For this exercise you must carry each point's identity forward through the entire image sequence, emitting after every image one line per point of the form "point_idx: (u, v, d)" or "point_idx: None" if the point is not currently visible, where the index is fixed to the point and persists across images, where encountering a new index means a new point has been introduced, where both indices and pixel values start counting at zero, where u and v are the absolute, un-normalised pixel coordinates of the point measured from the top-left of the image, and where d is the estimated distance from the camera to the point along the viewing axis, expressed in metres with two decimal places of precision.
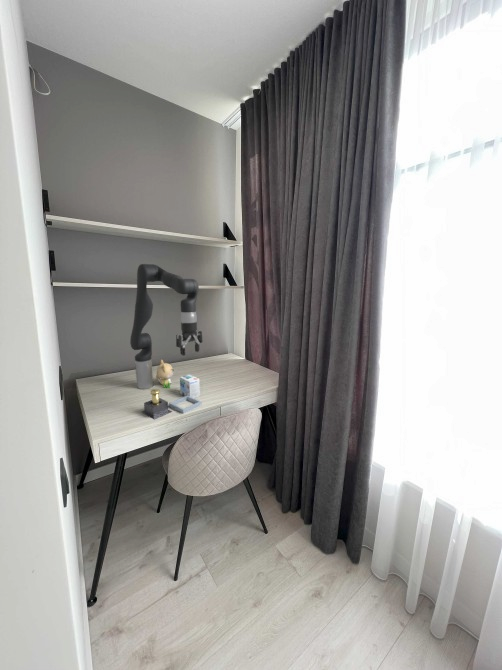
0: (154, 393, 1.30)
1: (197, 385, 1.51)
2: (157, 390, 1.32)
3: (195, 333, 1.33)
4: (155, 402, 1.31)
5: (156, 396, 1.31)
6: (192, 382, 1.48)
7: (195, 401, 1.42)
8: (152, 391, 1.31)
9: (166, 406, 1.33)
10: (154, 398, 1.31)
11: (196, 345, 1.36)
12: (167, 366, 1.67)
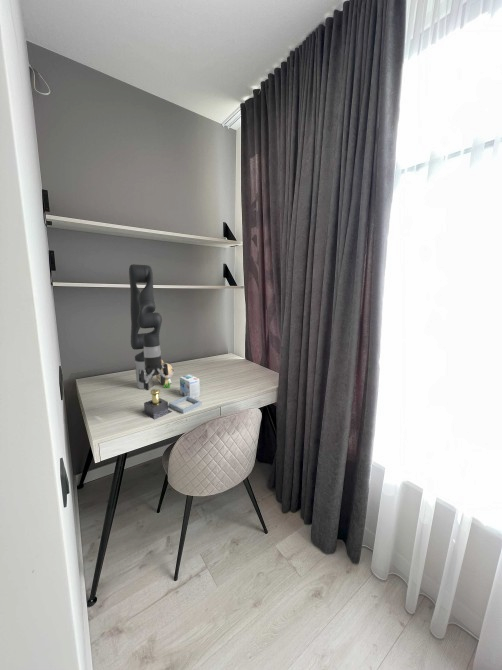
0: (154, 393, 1.30)
1: (197, 385, 1.51)
2: (157, 390, 1.32)
3: (160, 366, 1.31)
4: (155, 402, 1.31)
5: (156, 396, 1.31)
6: (192, 382, 1.48)
7: (195, 401, 1.42)
8: (152, 391, 1.31)
9: (166, 406, 1.33)
10: (154, 398, 1.31)
11: (161, 378, 1.33)
12: None
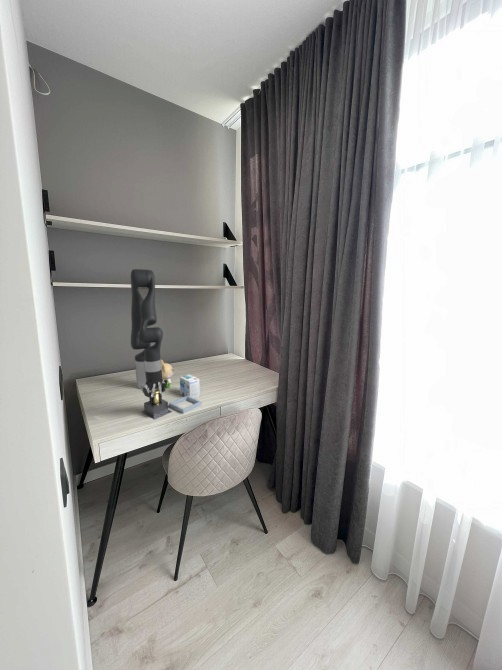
0: (154, 393, 1.30)
1: (197, 385, 1.51)
2: (157, 390, 1.32)
3: (161, 380, 1.32)
4: (155, 402, 1.31)
5: (156, 396, 1.31)
6: (192, 382, 1.48)
7: (195, 401, 1.42)
8: None
9: (166, 406, 1.33)
10: (154, 398, 1.31)
11: None
12: (167, 366, 1.67)
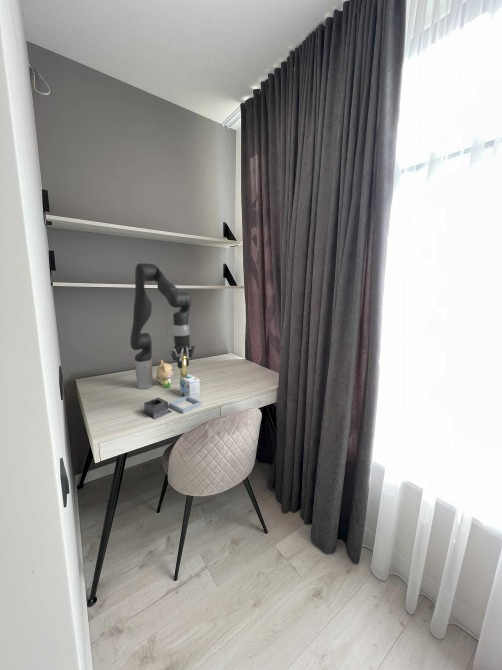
0: (182, 357, 1.32)
1: (197, 385, 1.51)
2: (185, 355, 1.35)
3: (188, 345, 1.35)
4: (183, 367, 1.34)
5: (184, 361, 1.34)
6: (192, 382, 1.48)
7: (195, 401, 1.42)
8: None
9: (166, 406, 1.33)
10: (182, 363, 1.33)
11: None
12: (167, 366, 1.67)
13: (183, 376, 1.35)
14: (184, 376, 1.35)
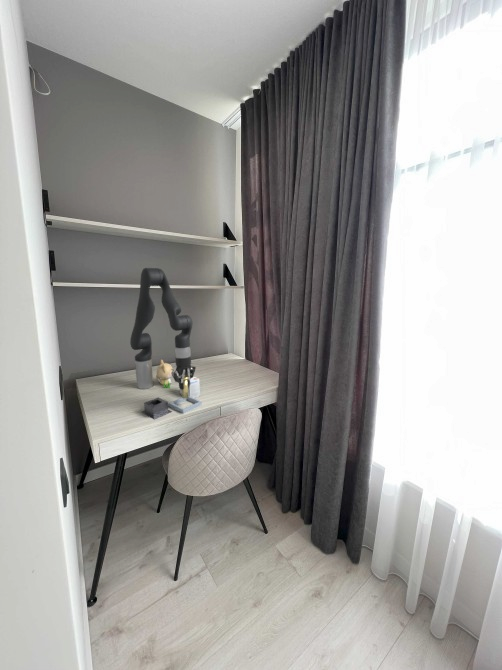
0: (184, 379, 1.35)
1: (197, 385, 1.51)
2: (186, 376, 1.37)
3: (189, 366, 1.37)
4: (184, 388, 1.36)
5: (185, 382, 1.36)
6: (192, 382, 1.48)
7: (195, 401, 1.42)
8: None
9: (166, 406, 1.33)
10: (183, 384, 1.36)
11: None
12: (167, 366, 1.67)
13: (184, 397, 1.37)
14: (185, 397, 1.37)
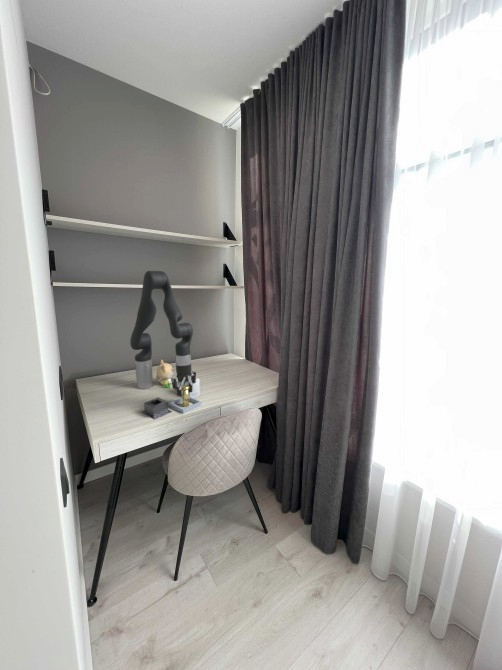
0: (184, 388, 1.36)
1: (197, 385, 1.51)
2: (187, 386, 1.39)
3: (190, 373, 1.38)
4: (185, 397, 1.38)
5: (186, 391, 1.37)
6: None
7: (195, 401, 1.42)
8: (182, 386, 1.37)
9: (166, 406, 1.33)
10: (184, 393, 1.37)
11: (189, 386, 1.40)
12: (167, 366, 1.67)
13: (185, 406, 1.39)
14: (186, 406, 1.39)
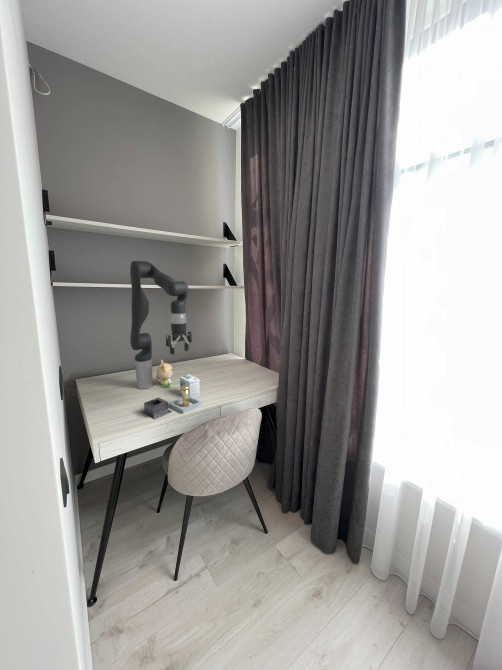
0: (184, 388, 1.36)
1: (197, 385, 1.51)
2: (187, 386, 1.39)
3: (184, 333, 1.39)
4: (185, 397, 1.38)
5: (186, 391, 1.37)
6: (192, 382, 1.48)
7: (195, 401, 1.42)
8: (182, 386, 1.37)
9: (166, 406, 1.33)
10: (184, 393, 1.37)
11: (185, 345, 1.42)
12: (167, 366, 1.67)
13: (185, 406, 1.39)
14: (186, 406, 1.39)
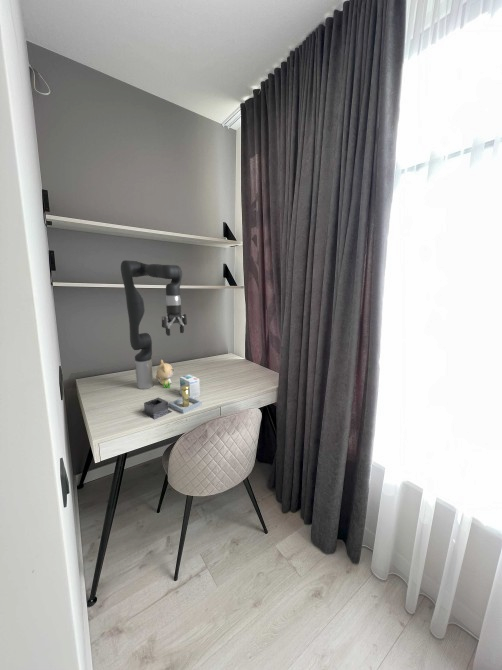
0: (184, 388, 1.36)
1: (197, 385, 1.51)
2: (187, 386, 1.39)
3: (180, 315, 1.45)
4: (185, 397, 1.38)
5: (186, 391, 1.37)
6: (192, 382, 1.48)
7: (195, 401, 1.42)
8: (182, 386, 1.37)
9: (166, 406, 1.33)
10: (184, 393, 1.37)
11: (181, 327, 1.48)
12: (167, 366, 1.67)
13: (185, 406, 1.39)
14: (186, 406, 1.39)
